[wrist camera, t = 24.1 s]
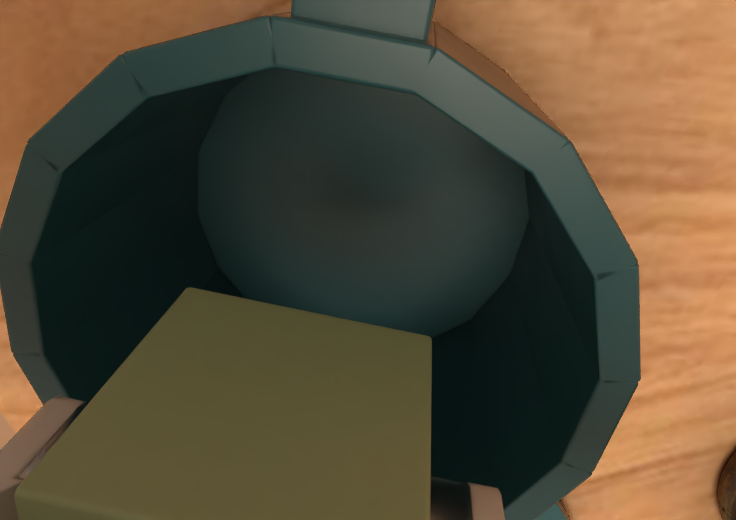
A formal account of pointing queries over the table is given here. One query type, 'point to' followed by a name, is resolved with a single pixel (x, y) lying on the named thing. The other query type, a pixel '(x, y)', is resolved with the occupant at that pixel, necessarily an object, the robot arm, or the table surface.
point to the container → (728, 490)
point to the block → (248, 423)
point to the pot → (338, 226)
